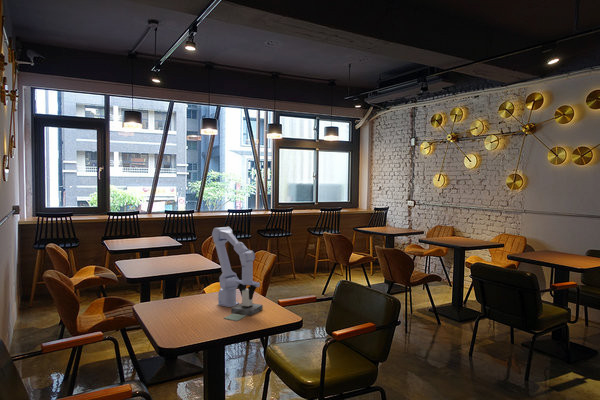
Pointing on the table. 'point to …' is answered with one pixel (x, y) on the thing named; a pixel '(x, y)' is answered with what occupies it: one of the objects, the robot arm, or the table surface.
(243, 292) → the block
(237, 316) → the mat
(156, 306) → the table surface
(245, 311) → the pocket board
